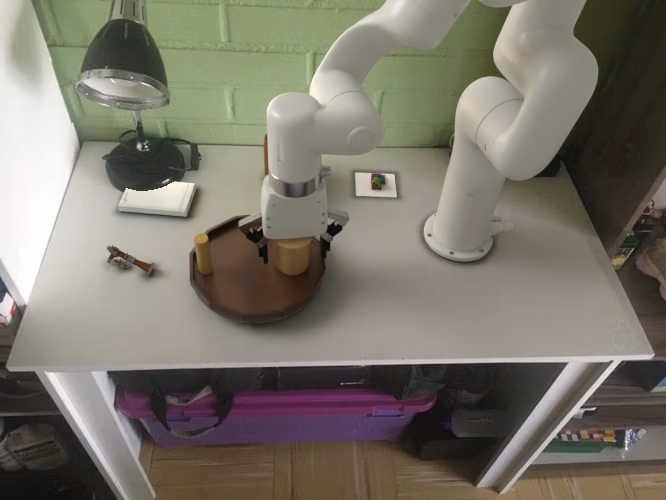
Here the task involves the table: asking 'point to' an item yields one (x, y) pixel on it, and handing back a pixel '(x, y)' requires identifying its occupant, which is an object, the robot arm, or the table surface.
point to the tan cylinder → (293, 255)
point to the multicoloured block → (375, 185)
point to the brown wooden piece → (127, 260)
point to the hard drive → (160, 200)
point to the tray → (249, 276)
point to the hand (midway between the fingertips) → (294, 255)
